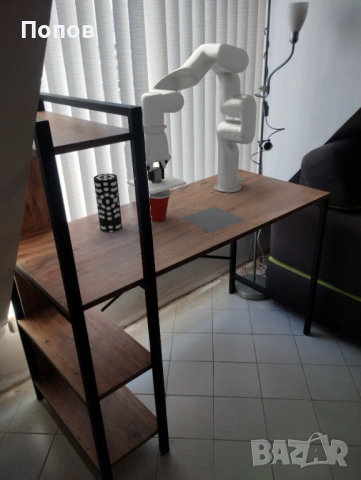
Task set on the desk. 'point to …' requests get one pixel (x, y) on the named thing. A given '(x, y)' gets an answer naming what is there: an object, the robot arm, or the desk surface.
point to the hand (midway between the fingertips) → (156, 179)
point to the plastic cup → (159, 205)
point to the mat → (212, 219)
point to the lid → (161, 182)
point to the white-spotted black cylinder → (108, 202)
